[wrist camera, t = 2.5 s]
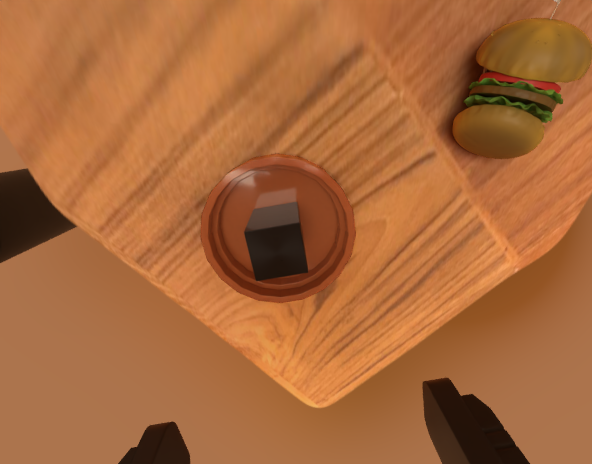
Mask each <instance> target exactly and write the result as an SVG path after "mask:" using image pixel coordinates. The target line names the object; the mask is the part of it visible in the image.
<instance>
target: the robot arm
mask: <svg viewBox="0 0 592 464" xmlns="http://www.w3.org/2000/svg"><path fill="white" fill-rule="evenodd" d="M423 400H424V416H425V421H426V425H427V429H428V432H429V435H430V437H431V440H432V442H433V444H434V446H435V448H436V450H437V453H438V455H439V457H440V459H441V462H442V464H530V463H529V462H528V460H527V459H526V458H525V456H524V455H523V453H522V452H521V451H520V449H519V448H518V447H517V446H516V445H515V442H514V441H513V439H512V438H511V437H510V435H509V434H508V432H507V431H505V430H504V427H503V425H502V424H501V423H500V421H499V420H498V419H497V417H496V416H495V414H494V413H493V411H492V410H491V409H490V408H489V407H488V406H487V405H486V404H484V403H483V402H482V401H480V400H479V399H478V398H477V397H475V396H474V395H473V394H469V395H463V396H460V394H459V392H458V391H457V390H456V388H455V386H454V385H453V383H452V382H451V380H450V379H449V378H441V379H436V380H429V381H424V382H423ZM118 464H190V455H189V452H188V449H187V447H186V445H185V443H184V440H183V439H182V436H181V434H180V431H179V429H178V427H177V425H176V423H175V422H167V423H161V424H155V425H150V426H149V427H147V429H146V430H145V432H144V434H143V436H142V438H141V440H140V442H139V444H138V446H137V447H134V448H131V449H130V450H129V451H128V452H127V454H126V455H125V456H124V457H123V459H122V460H121V461H120V462H119V463H118Z"/></svg>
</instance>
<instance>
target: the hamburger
mask: <svg viewBox="0 0 592 464" xmlns="http://www.w3.org/2000/svg"><path fill="white" fill-rule="evenodd" d="M554 1H555V2H557V3H558V4H557V6H556V8H555V10H556V9H557V7H558V5H559V3H560V1H561V0H554ZM555 10H554V12H555ZM554 12H553V14H554ZM553 14H552V16H553ZM552 16H551V18H552ZM551 18H550V19H547V18H531V19H524V20H519V21H515V22H512V23H509V24H505V25H504V26H503V27H501V28H499V29H497V30H496V31H493V32H492V33H491V35H489V36H488V37H487V38H486V40H485V41H484V42H483V44H482V45H481V47H480V48H479V49H478V51H477V53H476V60H477V62H478V63H479V65H481V66H483V67H484V70H483V74H482V75H481V76H480V78H479V81H476V82H472V83H471V85H470V86H469V89H470V90H471V91H470V93H469V96H470V97H468V98H467V99H465V100H464V101H463V102H464V103H466V104H467V105H466V106H467V107H469V108H467V109H465V110H463V111H462V112H460V113H459V114H458V115H457V116H456V117H455V119H454V121H453V136H454V138H455V140H456V141H457V143H458V144H459V145H460V146H462V147H463V148H464V149H466V150H467V151H469V152H471V153H474V154H476V155H479V156H483V157H487V158H495V159H509V158H515V157H519V156H523V155H525V154H527V153H529V152H531V151H532V150H533V149H535V148H536V147H537V146H538V145H539V144H540V143H541V141H542V139H543V136H544V129H545V127H544V125H543V124H542V122H544V123H547V122H548V121H552V112H553V111H554V109H555V107H556V104H557V103H559V104H563V99H561V94H559V92H560V90H561V87H560V86H559V85H557V84H556V83H554V82H571V81H575V80H579V79H581V78H582V77H583V76H584V75H585V73H586V72H587V70H588V68H589V66H590V64H591V61H592V44H591V41H590V39H589V38H588V36H587V35H586V34H585V33H584V32H583V31H582V30H580V29H579V28H577V27H576V26H574V25H572V24H569V23H567V22H564V21H560V20H555V19H551ZM488 70H490V72H489V73H486V72H487V71H488ZM492 71H496V72H492Z"/></svg>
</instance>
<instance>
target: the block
mask: <svg viewBox="0 0 592 464" xmlns="http://www.w3.org/2000/svg"><path fill="white" fill-rule="evenodd" d="M244 235H245V240H246V244H247V248H248V252H249V256H250V260H251V264H252V268H253V272H254V276H255V280H256V281H262V280H268V279H274V278H280V277H286V276H292V275H298V274H304V273H308V265H307V258H306V250H305V243H304V237H303V231H302V226H301V220H300V214H299V209H298V203H297V202H292V203H286V204H280V205H275V206H269V207H263V208H258V209H253V212H252V214H251V216H250V219H249V221H248V224H247V226H246V228H245V231H244Z"/></svg>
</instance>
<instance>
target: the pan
mask: <svg viewBox="0 0 592 464" xmlns="http://www.w3.org/2000/svg"><path fill="white" fill-rule="evenodd" d="M292 202H297V203H298V209H299V214H300V220H301V226H302V231H303V237H304V243H305V250H306V258H307V265H308V273H304V274H298V275H292V276H286V277H280V278H274V279H268V280H262V281H256V280H255V276H254V272H253V268H252V264H251V260H250V256H249V252H248V248H247V244H246V240H245V235H244V231H245V228H246V226H247V224H248V221H249V219H250V216H251V214H252V212H253V209H258V208H263V207H269V206H275V205H280V204H286V203H292ZM355 236H356V232H355V223H354V214H353V210H352V208H351V206H350V204H349V202H348V199H347V197H346V195H345V193H344V191H343V190H342V188H341V187H340V186H339V185H338V183H337V182H336V181H335V180H334V179H333V178H332V177H331V176H330V175H329V174H328V173H327V172H326V171H325V170H324V169H323V168H321V167H320V166H318V165H316V164H314V163H312V162H310V161H308V160H306V159H304V158H302V157H298V156H291V155H284V154H271V155H265V156H260V157H254V158H252V159H250V160H248V161H247V162H245V163H243V164H241V165H239V166H238V167H236V168H234V169H233V170H231V171H230V172H229V173H227V174H226V175H225V176H224V178H223V179H222V180H221V181H220V182H219V183H218V184H217V185H216V187H215V188H214V189H213V190H212V191H211V193H210V195H209V197H208V200H207V202H206V205H205V207H204V210H203V212H202V217H201V241H202V244H203V247H204V251H205V254H206V257H207V260H208V262H209V263H210V264H211V266H212V267H213V269H214V270H215V272H216V273H217V274H218V276H219V277H220V278H221V279H222V280H223V281H224V282H226V283H227V284H228V285H229V286H231V287H232V288H233V289H234V290H236V291H237V292H239V293H241V294H244V295H246V296H249V297H251V298H253V299H256V300H259V301H268V302H277V303H284V302H290V301H296V300H302V299H305V298H307V297H309V296H311V295H313V294H315V293H318V292H320V291H322V290H324V289H325V288H326V287H327V286H328V285H329V284H330V283H332V282H333V281H334V280H335V279H336V278H337V277H338V276H339V275H340V274H341V272H342V270H343V269H344V267H345V265H346V264H347V262H348V260H349V259H350V257H351V254H352V249H353V245H354V240H355Z"/></svg>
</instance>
